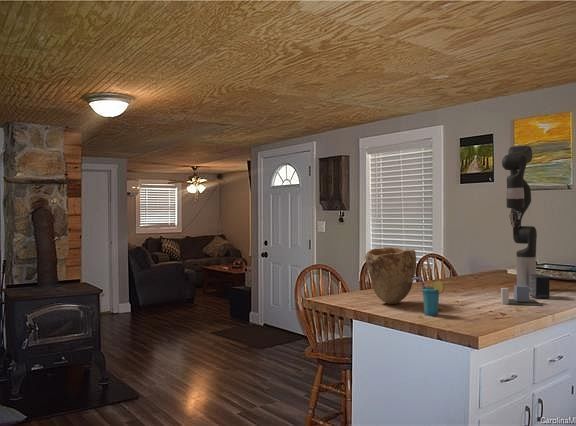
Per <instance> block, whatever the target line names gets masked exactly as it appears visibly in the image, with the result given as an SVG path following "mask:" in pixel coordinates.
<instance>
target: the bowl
mask: <svg viewBox="0 0 576 426" xmlns="http://www.w3.org/2000/svg"><path fill="white" fill-rule="evenodd" d="M364 260H365V263H366V268H367V270H368V274H369V277H370V281H371V285H372V288H373V289H372V290H373V291H374V293H375V294H376V296H377V297H378V299H380V300H381V301H382V302H384V303H386V304H388V305H396V304H399V303H400V302H402V301H403V300H405V298H406V297H407V296H408V295H409V293H410V291H411V289H412V286H413V282H414V280H412V278H416V277H415V276H416V272H417V254H416V251H415V249H412V248H411V249H410V248H405V249H402V248H399V247H387V246H386V247H382V248H380V247H379V248H371V249H370V250H368V251H367V253H366V254H365V257H364Z"/></svg>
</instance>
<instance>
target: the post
mask: <svg viewBox="0 0 576 426" xmlns="http://www.w3.org/2000/svg"><path fill="white" fill-rule="evenodd" d="M509 294H510V292H509V288H508V287H500V302H501V303H500V304H501V305H508V304H509V299H510V298H509V297H510V295H509ZM508 306H509V305H508Z"/></svg>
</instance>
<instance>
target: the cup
mask: <svg viewBox="0 0 576 426" xmlns="http://www.w3.org/2000/svg"><path fill="white" fill-rule="evenodd" d="M412 280H413V281H414V280H416V281H417V280H420V283H421V286H422V287H421V292H422V300H423V310H424V315H425V316H426V317H427V316H428V317H437V316H436V315H438V313H439V299H440V294H442V293H444V290H445V285H444V283H443V282H442V281H441V280H436V281H434V283H433V286H426V287H425V284H424V281H423V279H422V277H420V276H416V277H414V278H412Z"/></svg>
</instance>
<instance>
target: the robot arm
mask: <svg viewBox="0 0 576 426" xmlns="http://www.w3.org/2000/svg"><path fill="white" fill-rule="evenodd" d="M507 153H508V154H506V155H504V156H503V158H502V159H501V165H502V168H503V169H504V170H506V171H509V172H510V173H509V174H510V175H507V177H506V194H505V195H506V196H505V197H506V199H505V201H506V208H507V209H510V211H509V212H510V213H509V220H510V225H511V227H512V237H513V241H514V244H523V245H525V244H526V245H527V247H525V248H523V249H520V250H517V251H516V285H527V286H528V287H529V291H530V274H534V275H537V237H538V235H537V234H538V233H537V229H536V227H535V226H532V225H531V226H529V225H522V219H523V217H524V214H525V213H526V211H527V210H528V208H529V207H530V205H531V203H532V190H531V187H530V185H529V183H528V182H527V181H526V180H525V179H524V176H525V175H524V174H525V171H526V167H527V165H528V164H529V163H530V162H532V160H533V151H532V147H531V146H530V145H517V146H510V147H509V148H508V151H507Z"/></svg>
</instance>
